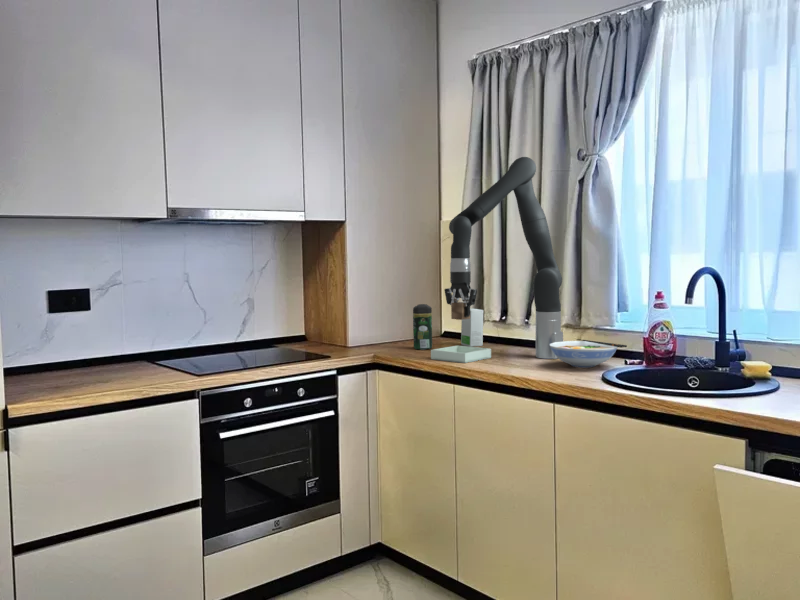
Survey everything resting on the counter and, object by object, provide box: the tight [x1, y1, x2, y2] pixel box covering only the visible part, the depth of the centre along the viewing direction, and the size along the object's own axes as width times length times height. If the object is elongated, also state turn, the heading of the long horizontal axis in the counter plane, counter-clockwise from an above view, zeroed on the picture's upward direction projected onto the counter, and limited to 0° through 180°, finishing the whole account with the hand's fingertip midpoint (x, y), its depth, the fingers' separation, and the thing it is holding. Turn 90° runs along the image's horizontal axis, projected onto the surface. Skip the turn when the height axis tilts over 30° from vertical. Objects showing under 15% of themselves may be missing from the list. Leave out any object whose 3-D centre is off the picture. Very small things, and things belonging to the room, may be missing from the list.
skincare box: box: [460, 307, 484, 347], centre depth 294 cm, size 8×7×16 cm
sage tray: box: [430, 345, 492, 364], centre depth 256 cm, size 16×16×4 cm
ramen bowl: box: [550, 338, 628, 369], centre depth 234 cm, size 25×23×8 cm
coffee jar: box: [412, 303, 433, 351], centre depth 286 cm, size 10×8×19 cm
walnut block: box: [450, 301, 470, 321], centre depth 255 cm, size 5×5×6 cm
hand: (460, 316), depth 255 cm, fingers closed on walnut block, 5 cm apart
